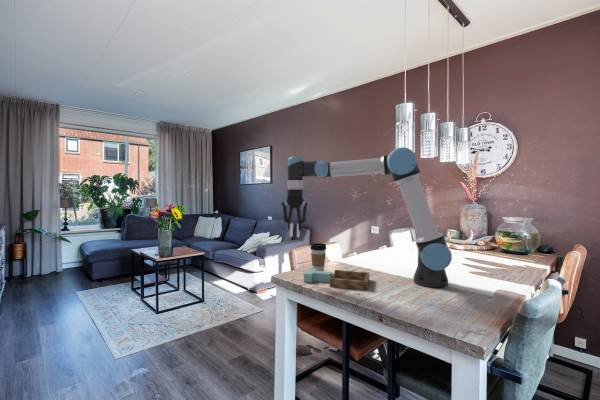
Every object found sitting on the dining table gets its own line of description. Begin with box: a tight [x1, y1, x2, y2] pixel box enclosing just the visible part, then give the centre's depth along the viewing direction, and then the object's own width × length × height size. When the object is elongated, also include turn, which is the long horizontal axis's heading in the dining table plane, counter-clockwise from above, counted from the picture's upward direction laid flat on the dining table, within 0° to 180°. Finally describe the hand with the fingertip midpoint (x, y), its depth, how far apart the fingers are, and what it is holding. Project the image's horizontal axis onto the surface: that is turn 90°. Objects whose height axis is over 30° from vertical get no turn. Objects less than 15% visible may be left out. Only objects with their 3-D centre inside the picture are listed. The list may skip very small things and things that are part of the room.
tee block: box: [303, 268, 332, 284], centre depth 147 cm, size 12×10×4 cm
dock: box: [329, 269, 370, 291], centre depth 143 cm, size 17×16×4 cm
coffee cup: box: [310, 242, 327, 271], centre depth 161 cm, size 8×8×15 cm
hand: (294, 236), depth 150 cm, fingers open, 3 cm apart
